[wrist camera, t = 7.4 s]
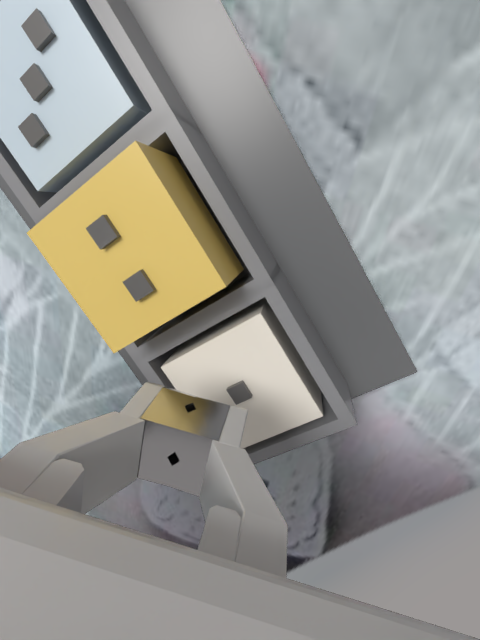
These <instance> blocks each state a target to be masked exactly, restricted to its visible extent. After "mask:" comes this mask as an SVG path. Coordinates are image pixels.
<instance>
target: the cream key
mask: <svg viewBox="0 0 480 640" xmlns="http://www.w3.org/2000/svg"><path fill="white" fill-rule="evenodd" d="M161 369H162V370H163V372H164V373H165V374H166V376H167V377H168V379H169V380H170V382H171V383H172V384H173V386H174V387H175V389H176V390H179V391H182V392H185V393H189V394H192V395H195V396H197V397H201V398H204V399H208V400H212V401H216V402H220V403H223V404H227V405H230V406H231V405H232V406H236V407H241V408H245V409H248V415H247V419H246V424H245V428H244V432H243V437H242V441H241V446H240V448H242V449H243V448H245V447H248V446H250V445H253V444H255V443H258V442H260V441H263V440H265V439H268V438H270V437H273V436H275V435H278V434H280V433H283V432H285V431H288V430H290V429H293V428H295V427H298V426H300V425H303V424H305V423H308V422H310V421H313V420H315V419H317V418H320V417H322V416H323V407H322V397H321V390H320V388H319V386H318V385H317V383H316V381H315V380H314V378H313V376H312V375H311V373H310V371H309V370H308V368H307V366H306V365H305V363H304V361H303V360H302V358H301V356H300V355H299V353H298V351H297V350H296V348H295V346H294V345H293V343H292V341H291V340H290V338H289V336H288V335H287V333H286V331H285V330H284V328H283V326H282V325H281V323H280V321H279V320H278V318H277V316H276V315H275V313H274V311H273V310H272V308H271V306H270V305H269V303H268V302H267V300H266V298H265V297H264V298H262V299H260V300H259V301H257V302H255V303H253V304H251V305H250V306H248V307H246V308H244V309H242V310H241V311H239V312H237V313H235V314H233V315H232V316H230V317H228V318H226V319H224V320H223V321H221V322H219V323H217V324H216V325H214V326H212V327H210V328H208V329H207V330H205V331H203V332H201V333H199V334H198V335H196V336H194V337H192V338H190V339H189V340H187V341H185V342H183V343H182V344H181V345H180V346H179V348H178V349H177V350H176V351H175V352H174V353H173V354H172V355H171V356H170V358H169V359H168V360H167V361H166V362H165V363H164V364H163V365H162V366H161Z"/></svg>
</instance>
